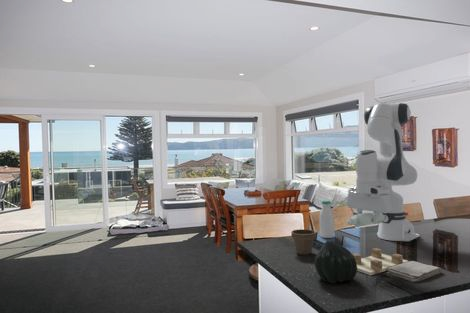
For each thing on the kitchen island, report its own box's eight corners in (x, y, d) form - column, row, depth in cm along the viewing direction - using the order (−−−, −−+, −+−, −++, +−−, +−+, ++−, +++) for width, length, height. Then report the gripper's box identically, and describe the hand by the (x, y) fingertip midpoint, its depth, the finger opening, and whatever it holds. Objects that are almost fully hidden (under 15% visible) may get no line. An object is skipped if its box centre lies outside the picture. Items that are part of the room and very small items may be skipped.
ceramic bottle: (374, 222, 152) (374, 210, 152) (384, 223, 148) (383, 212, 148) (345, 227, 143) (344, 215, 143) (354, 229, 139) (354, 216, 139)
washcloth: (385, 274, 134) (385, 266, 134) (412, 265, 143) (412, 258, 143) (415, 284, 123) (415, 275, 123) (441, 273, 133) (441, 265, 133)
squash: (366, 273, 119) (352, 234, 129) (324, 277, 118) (313, 237, 128) (354, 288, 130) (342, 251, 140) (316, 292, 129) (306, 254, 139)
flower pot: (295, 248, 170) (295, 228, 170) (318, 250, 165) (318, 229, 165) (288, 254, 160) (288, 233, 160) (313, 257, 155) (312, 235, 155)
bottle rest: (381, 255, 155) (381, 246, 155) (408, 263, 144) (408, 253, 144) (344, 266, 143) (343, 256, 143) (370, 275, 132) (370, 264, 132)
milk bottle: (334, 238, 186) (334, 201, 186) (320, 238, 188) (319, 201, 187) (333, 235, 194) (332, 199, 193) (319, 234, 195) (318, 199, 195)
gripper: (343, 187, 154) (344, 218, 154) (383, 190, 136) (383, 225, 136) (353, 186, 157) (354, 216, 157) (393, 189, 139) (394, 223, 139)
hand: (368, 220), depth 146 cm, fingers closed on ceramic bottle, 5 cm apart
